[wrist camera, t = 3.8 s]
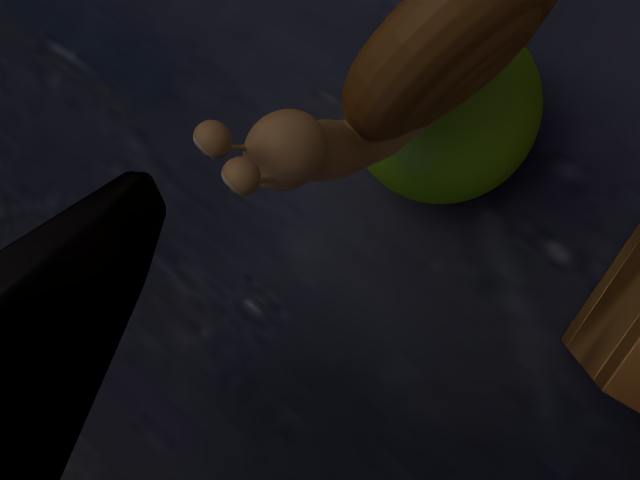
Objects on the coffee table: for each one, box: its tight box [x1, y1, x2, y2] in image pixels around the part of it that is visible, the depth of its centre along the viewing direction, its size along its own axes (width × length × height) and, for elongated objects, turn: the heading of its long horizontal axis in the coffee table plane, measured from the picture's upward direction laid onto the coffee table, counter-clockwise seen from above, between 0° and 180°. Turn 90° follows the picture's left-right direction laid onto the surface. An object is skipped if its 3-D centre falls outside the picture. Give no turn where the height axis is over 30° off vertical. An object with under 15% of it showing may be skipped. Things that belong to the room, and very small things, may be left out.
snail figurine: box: [193, 0, 557, 204], centre depth 12 cm, size 5×6×12 cm
